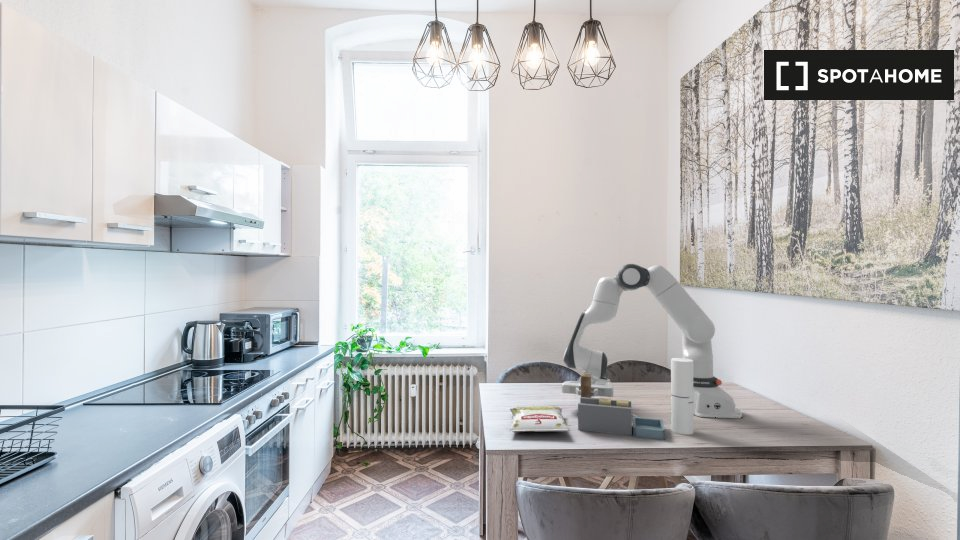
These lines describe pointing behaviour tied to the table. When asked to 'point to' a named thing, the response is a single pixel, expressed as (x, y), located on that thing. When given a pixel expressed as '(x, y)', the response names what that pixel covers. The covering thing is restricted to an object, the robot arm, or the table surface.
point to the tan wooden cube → (622, 403)
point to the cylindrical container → (682, 396)
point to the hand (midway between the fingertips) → (585, 393)
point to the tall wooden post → (586, 385)
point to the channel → (604, 417)
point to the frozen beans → (538, 419)
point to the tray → (648, 428)
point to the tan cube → (604, 401)
